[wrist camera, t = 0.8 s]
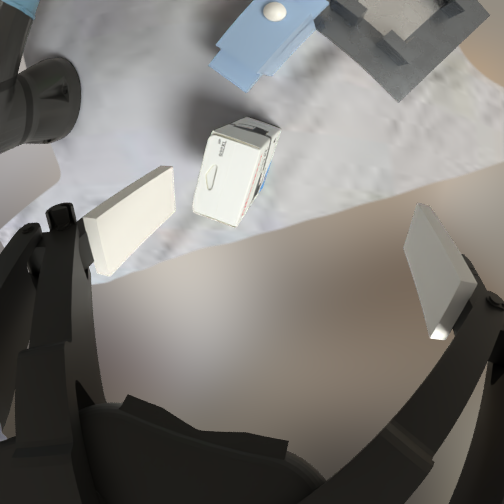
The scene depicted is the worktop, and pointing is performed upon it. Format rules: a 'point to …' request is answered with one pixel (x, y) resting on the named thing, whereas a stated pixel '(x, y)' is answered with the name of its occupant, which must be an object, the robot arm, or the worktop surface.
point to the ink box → (234, 169)
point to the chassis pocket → (399, 35)
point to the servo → (264, 39)
